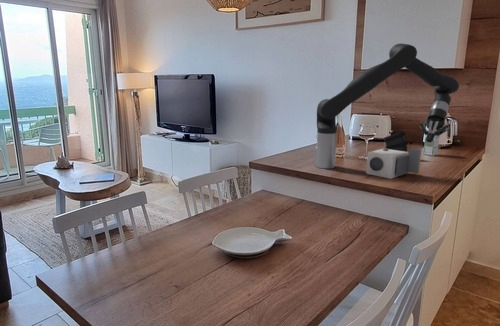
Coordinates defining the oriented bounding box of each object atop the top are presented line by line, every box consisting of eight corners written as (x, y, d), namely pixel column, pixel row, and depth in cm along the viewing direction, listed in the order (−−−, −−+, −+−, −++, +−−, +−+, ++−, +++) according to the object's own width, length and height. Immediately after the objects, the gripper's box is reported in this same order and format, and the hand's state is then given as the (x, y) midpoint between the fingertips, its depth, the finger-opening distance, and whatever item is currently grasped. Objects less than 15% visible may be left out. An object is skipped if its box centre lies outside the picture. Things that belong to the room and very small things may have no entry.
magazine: (409, 157, 184) (400, 131, 186) (388, 164, 194) (380, 139, 197) (413, 157, 186) (404, 130, 188) (392, 163, 197) (384, 138, 199)
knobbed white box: (364, 174, 159) (366, 150, 156) (382, 168, 168) (383, 146, 166) (389, 179, 149) (391, 154, 147) (406, 173, 159) (408, 150, 157)
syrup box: (437, 155, 199) (440, 129, 195) (432, 156, 195) (435, 130, 192) (427, 153, 203) (430, 128, 200) (422, 154, 200) (425, 129, 196)
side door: (395, 175, 152) (397, 151, 149) (406, 171, 158) (408, 148, 155) (407, 178, 148) (410, 152, 145) (418, 174, 154) (421, 149, 151)
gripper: (422, 107, 167) (412, 135, 161) (453, 108, 159) (444, 137, 152) (424, 117, 172) (414, 144, 166) (454, 118, 164) (445, 147, 158)
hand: (429, 141), depth 159 cm, fingers closed
